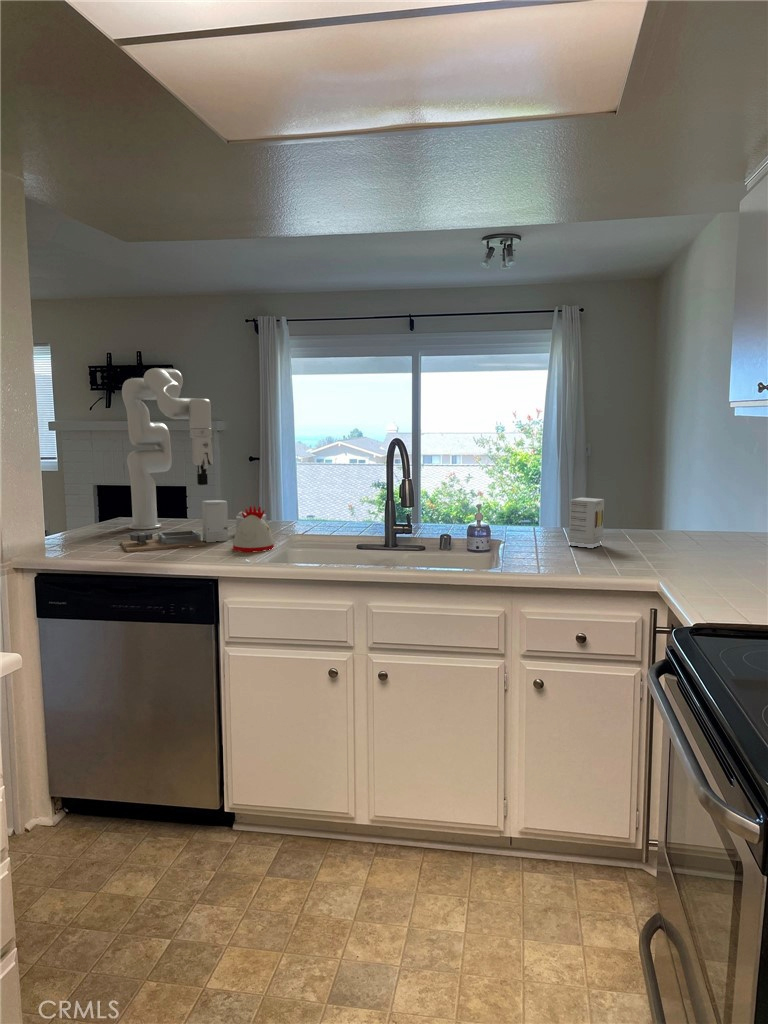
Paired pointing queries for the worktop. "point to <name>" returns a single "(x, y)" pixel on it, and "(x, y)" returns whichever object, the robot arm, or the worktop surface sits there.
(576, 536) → the supplement box
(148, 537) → the wheel
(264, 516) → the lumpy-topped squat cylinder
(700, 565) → the worktop surface
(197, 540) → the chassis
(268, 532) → the white red crested helmet
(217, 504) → the skincare box
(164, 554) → the worktop surface
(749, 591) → the worktop surface
